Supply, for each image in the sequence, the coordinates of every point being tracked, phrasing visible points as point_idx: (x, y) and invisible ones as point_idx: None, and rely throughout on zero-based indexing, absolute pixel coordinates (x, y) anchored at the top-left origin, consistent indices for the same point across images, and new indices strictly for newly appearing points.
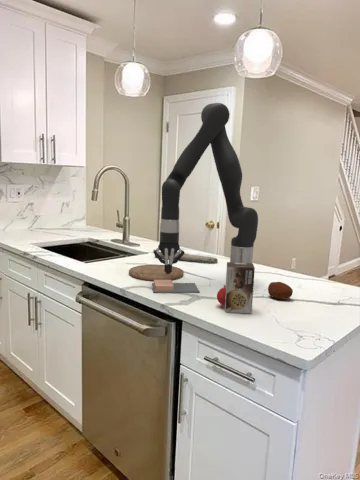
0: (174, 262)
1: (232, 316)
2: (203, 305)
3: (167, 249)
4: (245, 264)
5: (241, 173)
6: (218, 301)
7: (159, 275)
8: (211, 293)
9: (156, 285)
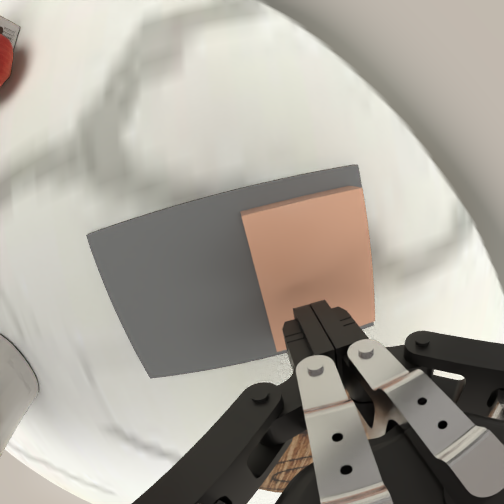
0: (271, 389)
1: (14, 10)
2: (73, 45)
3: (471, 487)
4: None
5: None
6: (12, 51)
7: None
8: (43, 242)
9: (359, 203)
